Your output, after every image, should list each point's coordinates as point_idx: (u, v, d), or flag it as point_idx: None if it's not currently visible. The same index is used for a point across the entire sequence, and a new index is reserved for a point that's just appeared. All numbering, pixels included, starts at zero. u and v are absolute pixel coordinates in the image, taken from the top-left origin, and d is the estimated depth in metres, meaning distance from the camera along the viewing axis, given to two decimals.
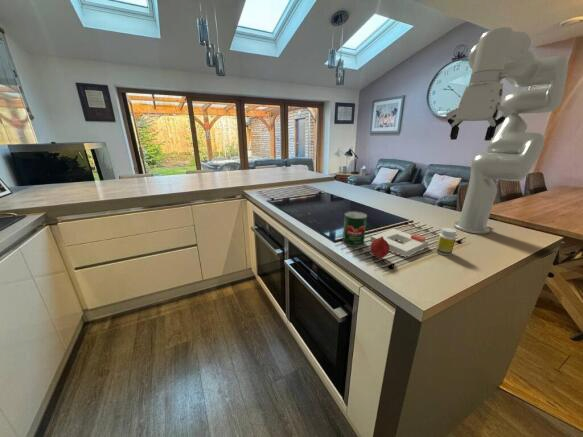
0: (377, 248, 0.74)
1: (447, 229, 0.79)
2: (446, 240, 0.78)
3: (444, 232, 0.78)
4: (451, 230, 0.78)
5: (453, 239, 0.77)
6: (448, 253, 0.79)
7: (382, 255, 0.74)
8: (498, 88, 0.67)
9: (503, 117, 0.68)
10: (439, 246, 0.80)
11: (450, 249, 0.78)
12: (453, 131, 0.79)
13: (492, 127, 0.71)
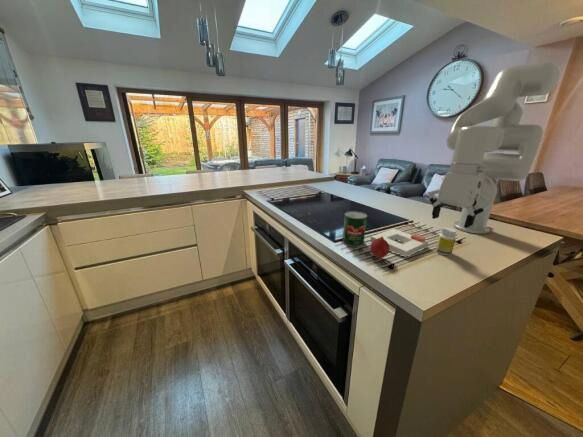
0: (377, 248, 0.74)
1: (447, 229, 0.79)
2: (446, 240, 0.78)
3: (444, 232, 0.78)
4: (451, 230, 0.78)
5: (453, 239, 0.77)
6: (448, 253, 0.79)
7: (382, 255, 0.74)
8: (477, 181, 0.68)
9: (482, 209, 0.69)
10: (439, 246, 0.80)
11: (450, 249, 0.78)
12: (434, 211, 0.79)
13: (471, 216, 0.71)
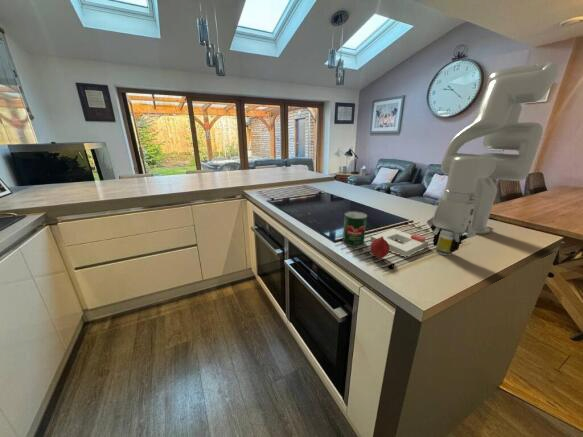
0: (377, 248, 0.74)
1: None
2: (446, 240, 0.78)
3: (444, 232, 0.78)
4: None
5: (453, 239, 0.77)
6: (448, 253, 0.79)
7: (382, 255, 0.74)
8: (469, 209, 0.71)
9: (466, 237, 0.74)
10: (439, 246, 0.80)
11: None
12: (435, 239, 0.81)
13: (456, 242, 0.76)
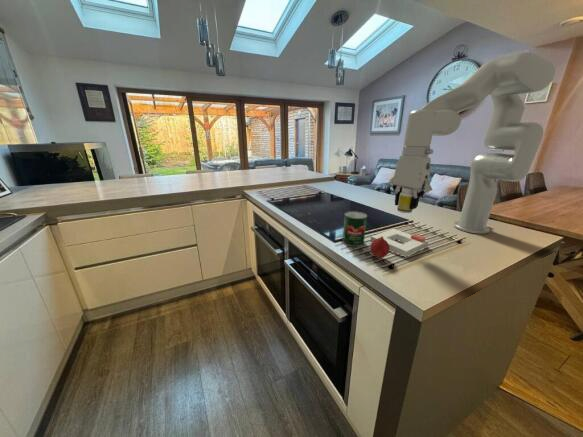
0: (377, 248, 0.74)
1: None
2: (405, 197, 0.78)
3: (404, 189, 0.78)
4: (411, 188, 0.78)
5: (412, 196, 0.78)
6: (408, 211, 0.79)
7: (382, 255, 0.74)
8: (425, 163, 0.72)
9: (423, 192, 0.75)
10: (400, 204, 0.80)
11: (409, 207, 0.79)
12: (396, 198, 0.82)
13: (415, 198, 0.77)
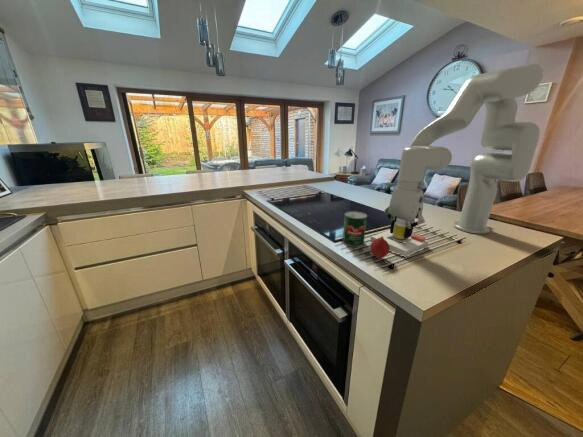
0: (377, 248, 0.74)
1: None
2: (399, 227, 0.82)
3: (398, 220, 0.82)
4: None
5: (406, 226, 0.81)
6: (402, 240, 0.83)
7: (382, 255, 0.74)
8: (417, 197, 0.76)
9: (416, 223, 0.78)
10: (394, 233, 0.84)
11: None
12: (391, 226, 0.85)
13: (409, 228, 0.81)
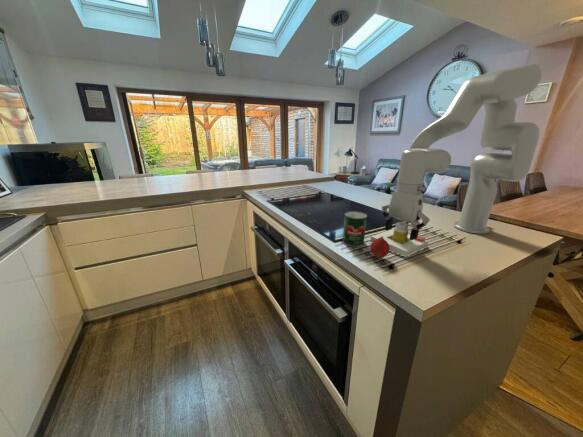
0: (377, 248, 0.74)
1: (401, 223, 0.84)
2: (399, 233, 0.83)
3: (397, 226, 0.83)
4: (404, 224, 0.83)
5: (405, 232, 0.82)
6: None
7: (382, 255, 0.74)
8: (417, 199, 0.76)
9: (422, 224, 0.77)
10: (394, 239, 0.85)
11: (403, 242, 0.83)
12: (387, 224, 0.87)
13: (415, 230, 0.79)
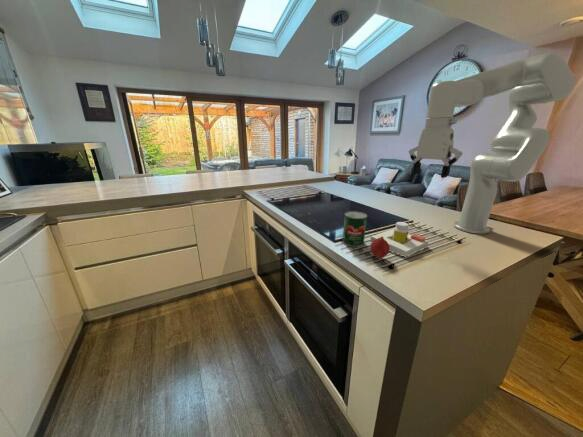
0: (377, 248, 0.74)
1: (401, 223, 0.84)
2: (399, 233, 0.83)
3: (397, 226, 0.83)
4: (404, 224, 0.83)
5: (405, 232, 0.82)
6: None
7: (382, 255, 0.74)
8: (449, 133, 0.75)
9: (455, 158, 0.76)
10: (394, 239, 0.85)
11: (403, 242, 0.83)
12: (415, 167, 0.86)
13: (446, 166, 0.78)
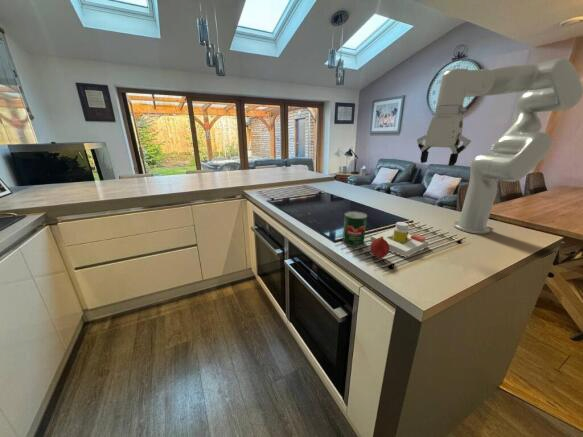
0: (377, 248, 0.74)
1: (401, 223, 0.84)
2: (399, 233, 0.83)
3: (397, 226, 0.83)
4: (404, 224, 0.83)
5: (405, 232, 0.82)
6: None
7: (382, 255, 0.74)
8: (458, 121, 0.76)
9: (463, 146, 0.77)
10: (394, 239, 0.85)
11: (403, 242, 0.83)
12: (422, 155, 0.87)
13: (454, 154, 0.79)
